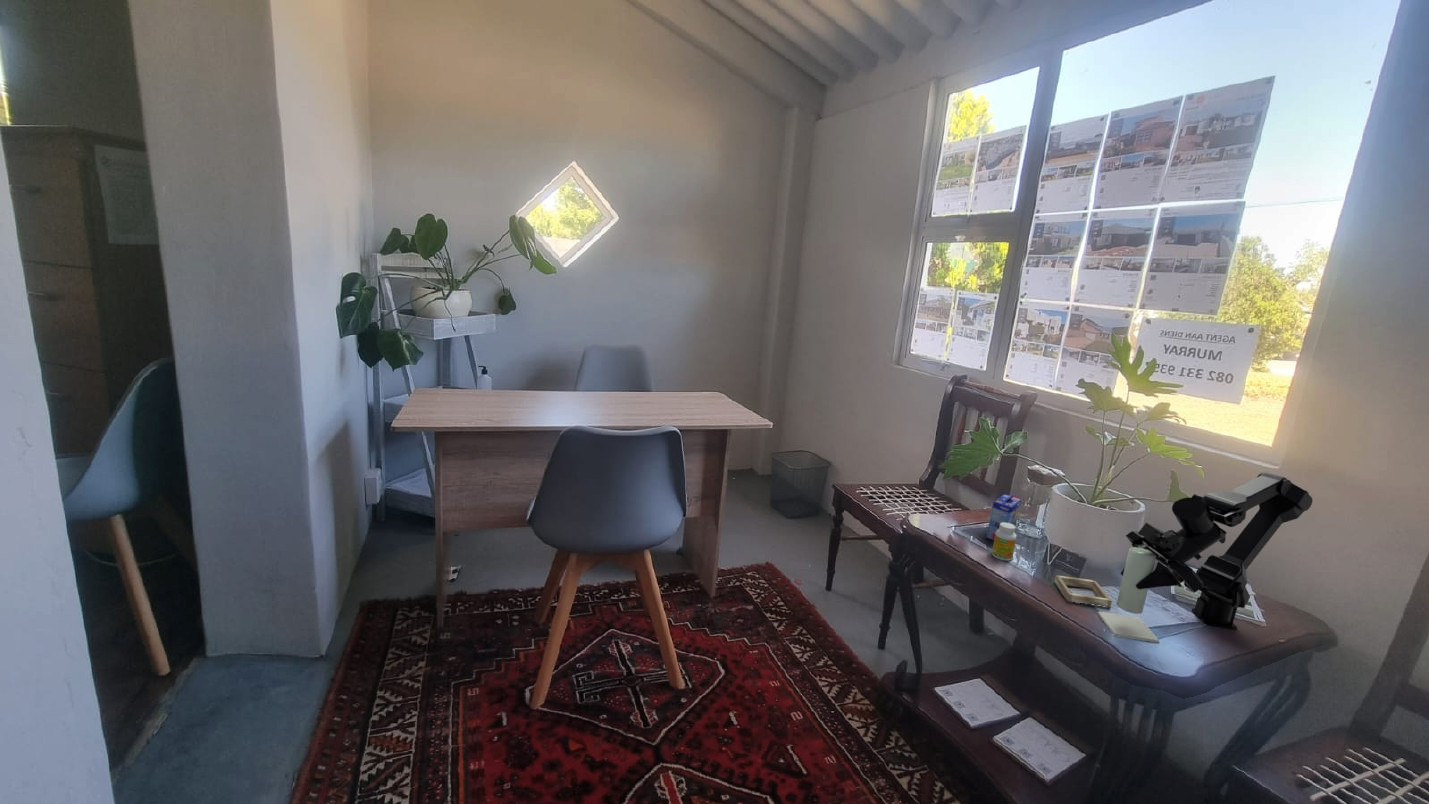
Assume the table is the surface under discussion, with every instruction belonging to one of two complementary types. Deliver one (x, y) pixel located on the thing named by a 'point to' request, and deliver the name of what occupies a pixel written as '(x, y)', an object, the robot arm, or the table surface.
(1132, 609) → the ceramic canister
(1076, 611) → the table surface
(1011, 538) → the supplement bottle
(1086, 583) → the birch collar
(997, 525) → the ink cartridge box
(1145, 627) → the cream square tile
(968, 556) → the table surface
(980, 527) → the table surface
